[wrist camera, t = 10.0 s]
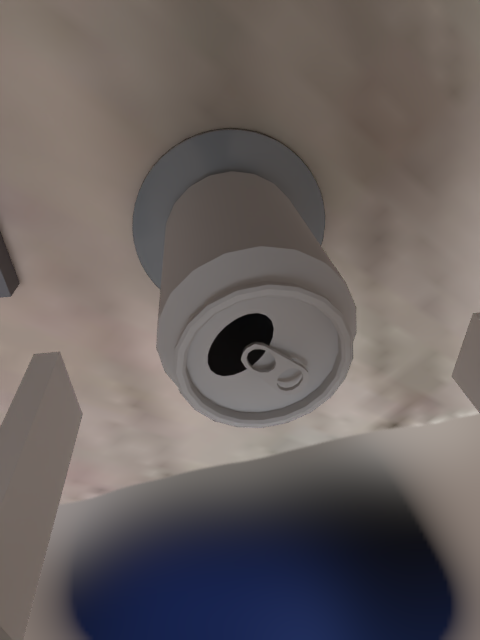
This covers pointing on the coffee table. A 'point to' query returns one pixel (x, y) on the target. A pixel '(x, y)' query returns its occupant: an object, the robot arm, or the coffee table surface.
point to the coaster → (209, 159)
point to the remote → (6, 272)
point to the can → (250, 305)
